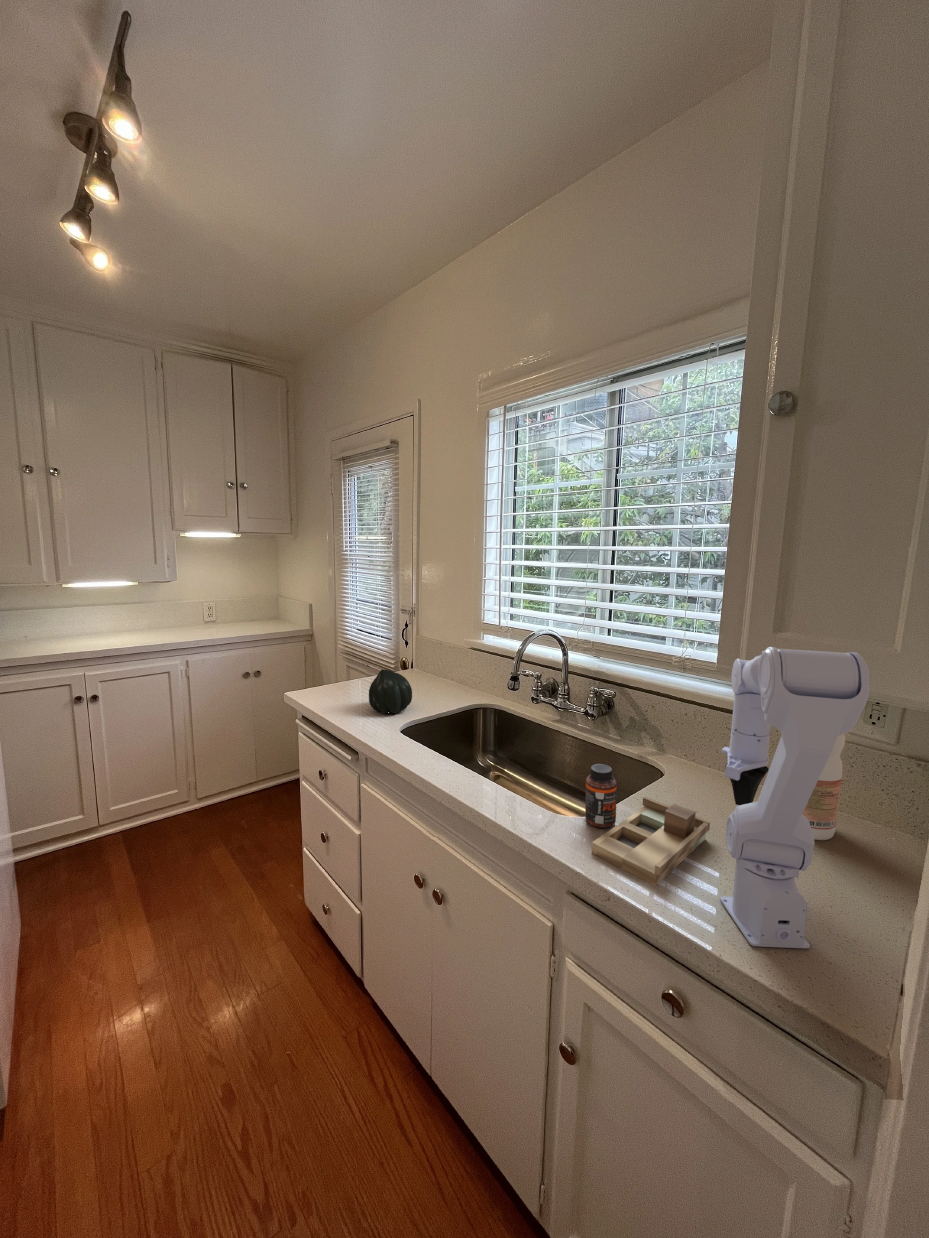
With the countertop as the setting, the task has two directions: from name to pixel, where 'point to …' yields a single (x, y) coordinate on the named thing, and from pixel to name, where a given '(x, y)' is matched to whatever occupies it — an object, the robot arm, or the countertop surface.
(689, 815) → the walnut block
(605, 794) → the supplement bottle
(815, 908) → the countertop surface
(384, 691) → the squash
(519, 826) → the countertop surface
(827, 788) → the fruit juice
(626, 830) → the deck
